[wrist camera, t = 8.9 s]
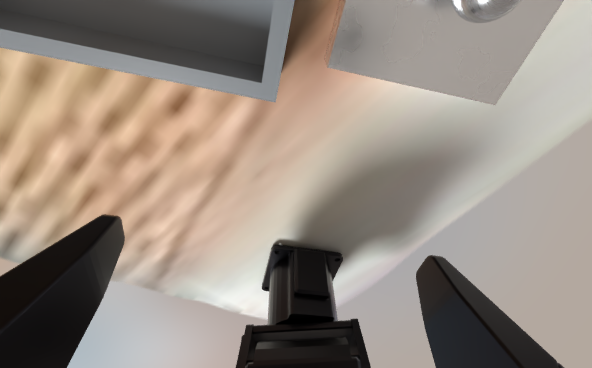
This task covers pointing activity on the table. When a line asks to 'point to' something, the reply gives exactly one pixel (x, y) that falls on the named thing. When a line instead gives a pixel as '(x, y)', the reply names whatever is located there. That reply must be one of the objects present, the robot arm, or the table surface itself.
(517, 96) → the table surface
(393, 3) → the stud plate
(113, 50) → the tray
